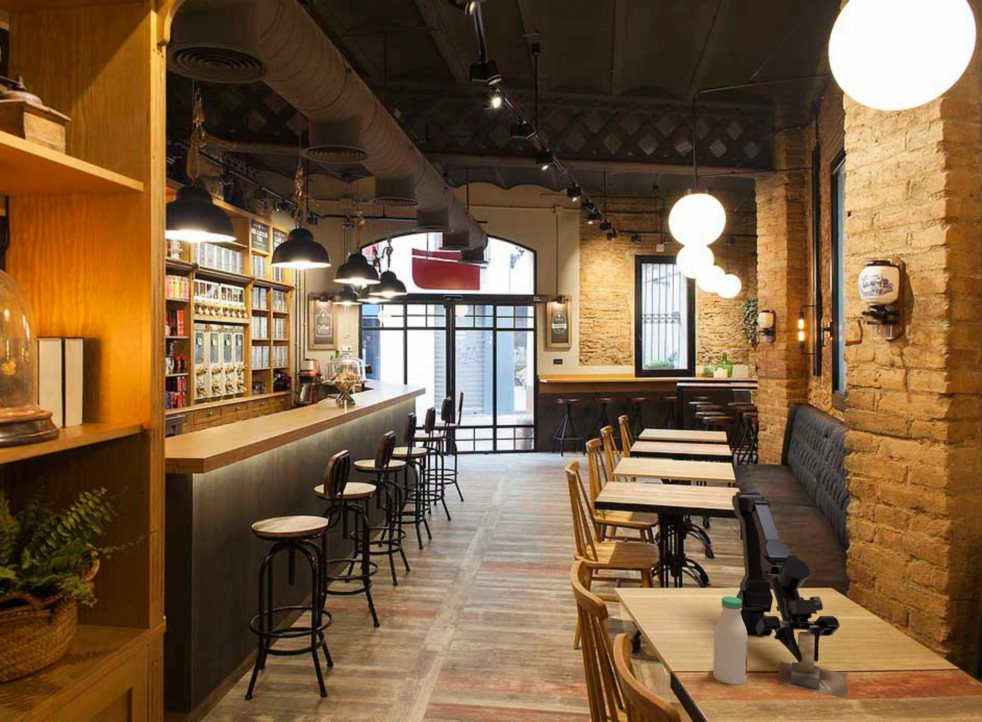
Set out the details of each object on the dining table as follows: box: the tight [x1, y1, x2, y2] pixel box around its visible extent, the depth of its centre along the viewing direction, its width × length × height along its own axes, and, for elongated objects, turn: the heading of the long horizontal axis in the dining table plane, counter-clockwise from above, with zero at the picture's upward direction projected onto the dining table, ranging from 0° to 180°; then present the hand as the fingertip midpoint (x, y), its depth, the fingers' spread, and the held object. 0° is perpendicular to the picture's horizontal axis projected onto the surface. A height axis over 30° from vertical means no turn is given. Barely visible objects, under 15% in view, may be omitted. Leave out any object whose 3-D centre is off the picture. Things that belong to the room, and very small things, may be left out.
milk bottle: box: [712, 596, 749, 685], centre depth 172 cm, size 8×8×20 cm
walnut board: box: [776, 661, 849, 699], centre depth 172 cm, size 15×14×1 cm
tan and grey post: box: [791, 631, 821, 689], centre depth 171 cm, size 6×7×11 cm
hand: (808, 661), depth 169 cm, fingers closed on tan and grey post, 4 cm apart
